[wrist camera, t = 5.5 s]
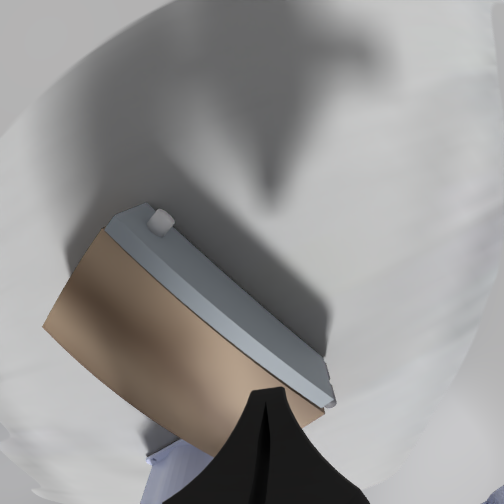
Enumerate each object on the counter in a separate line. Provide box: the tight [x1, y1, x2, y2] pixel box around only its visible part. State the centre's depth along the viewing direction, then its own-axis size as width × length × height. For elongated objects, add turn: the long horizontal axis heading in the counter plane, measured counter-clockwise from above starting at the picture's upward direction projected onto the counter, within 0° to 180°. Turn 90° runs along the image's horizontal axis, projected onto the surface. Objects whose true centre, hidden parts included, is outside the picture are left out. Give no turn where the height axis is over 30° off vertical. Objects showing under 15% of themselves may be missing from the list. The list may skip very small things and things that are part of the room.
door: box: [104, 202, 336, 408], centre depth 17 cm, size 2×17×4 cm, turn 46°
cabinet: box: [42, 226, 325, 457], centre depth 19 cm, size 9×17×4 cm, turn 46°
